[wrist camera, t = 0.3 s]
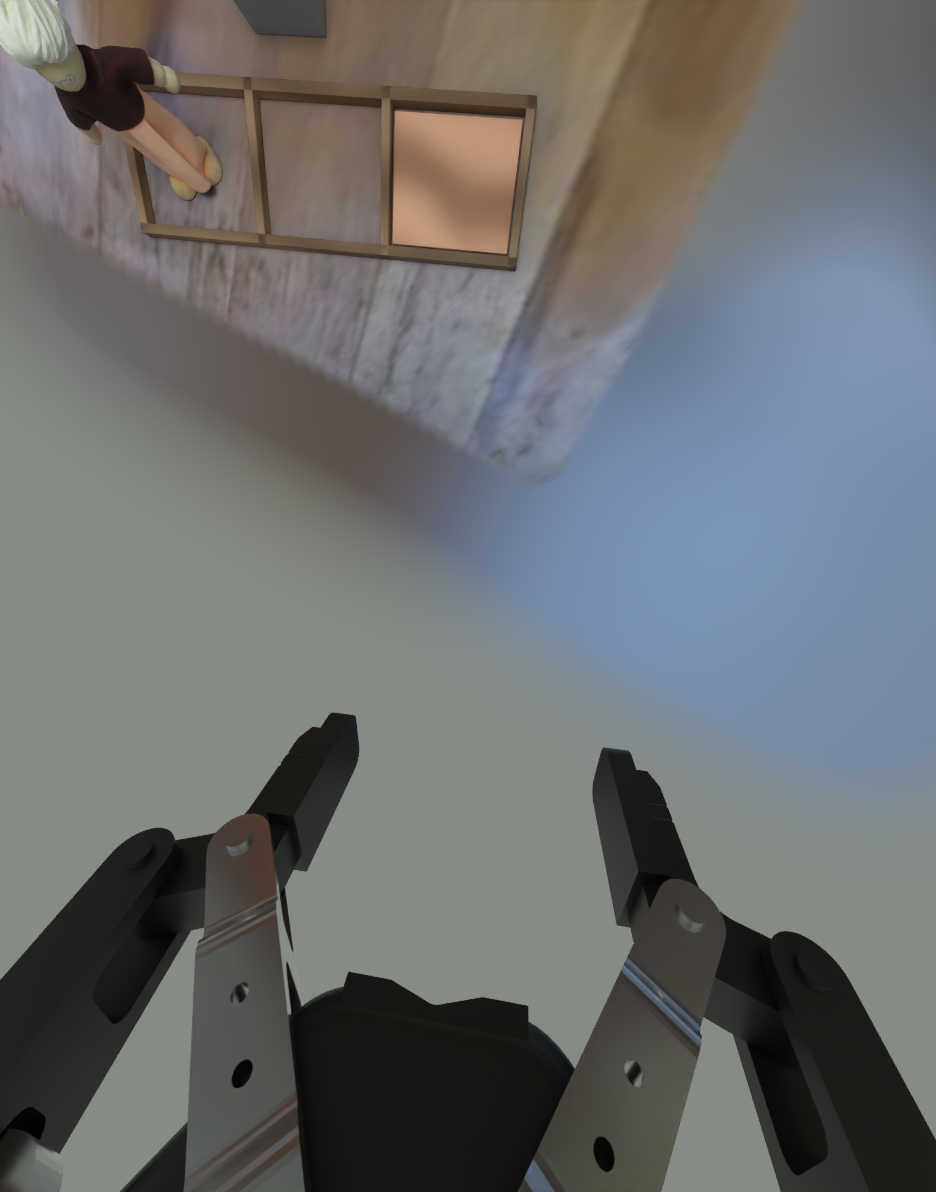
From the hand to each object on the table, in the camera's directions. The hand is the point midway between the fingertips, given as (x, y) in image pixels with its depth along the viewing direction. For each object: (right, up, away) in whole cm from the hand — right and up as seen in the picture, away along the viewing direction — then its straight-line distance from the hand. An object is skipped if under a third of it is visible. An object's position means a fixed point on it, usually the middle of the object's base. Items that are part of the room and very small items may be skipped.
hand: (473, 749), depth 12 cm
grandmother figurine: (-21, +38, +17) cm, 47 cm away
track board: (-11, +37, +16) cm, 42 cm away
